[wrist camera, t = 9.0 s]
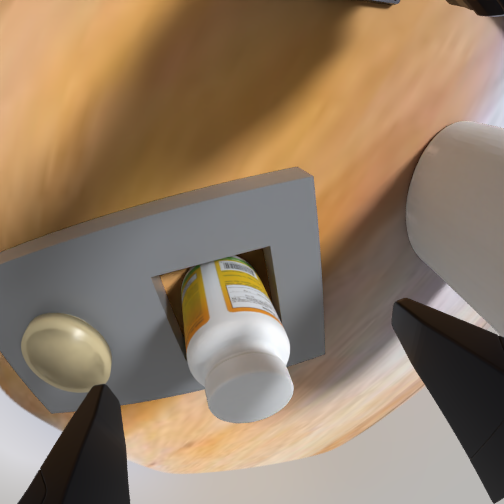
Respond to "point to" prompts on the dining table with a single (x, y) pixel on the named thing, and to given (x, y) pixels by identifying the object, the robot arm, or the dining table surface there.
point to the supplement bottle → (235, 341)
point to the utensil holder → (462, 214)
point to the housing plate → (153, 287)
